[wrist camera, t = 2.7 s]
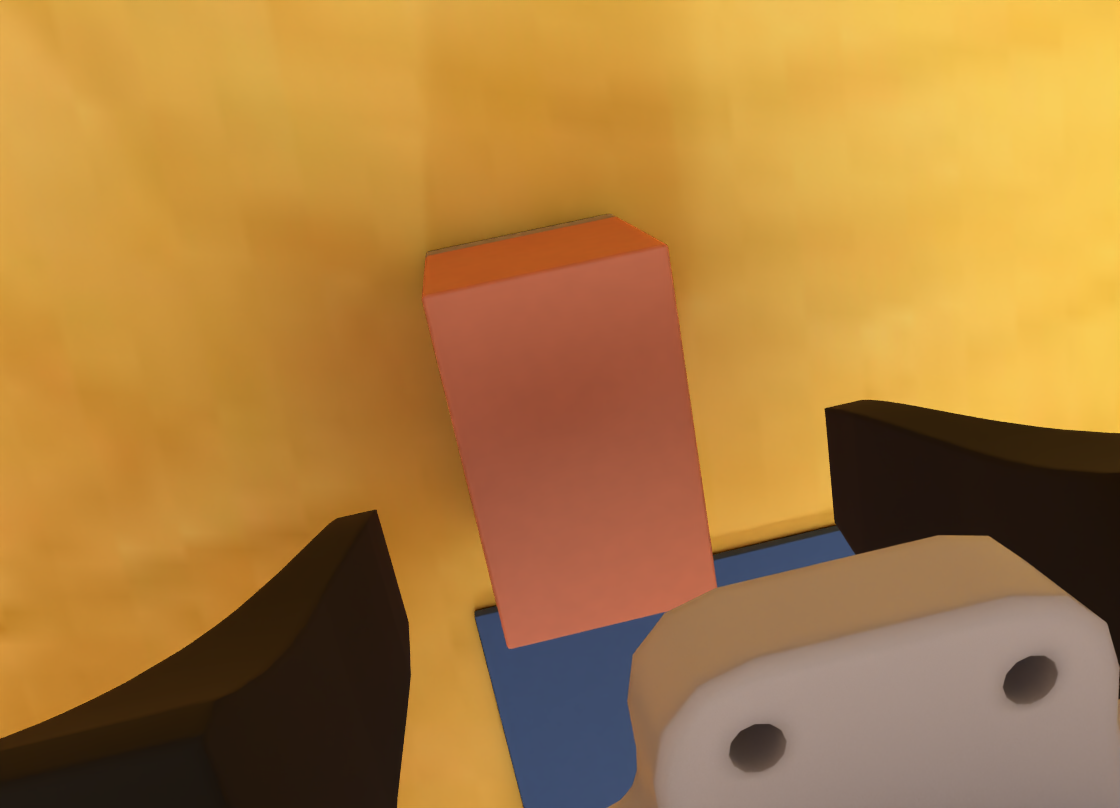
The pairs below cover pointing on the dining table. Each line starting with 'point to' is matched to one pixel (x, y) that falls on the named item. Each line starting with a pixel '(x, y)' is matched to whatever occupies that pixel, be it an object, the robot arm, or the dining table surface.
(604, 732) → the cloth
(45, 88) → the dining table surface
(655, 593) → the orange rectangular block
